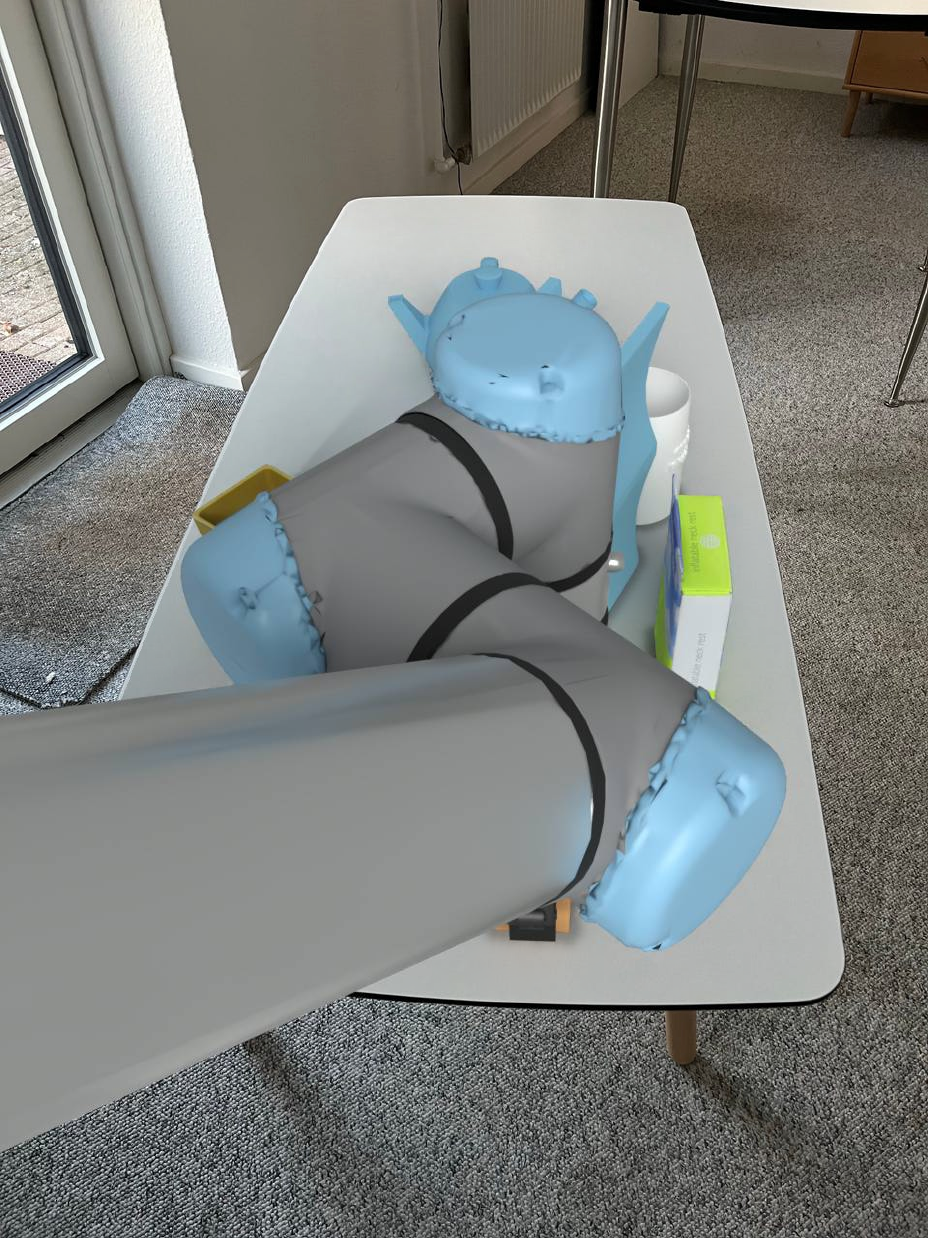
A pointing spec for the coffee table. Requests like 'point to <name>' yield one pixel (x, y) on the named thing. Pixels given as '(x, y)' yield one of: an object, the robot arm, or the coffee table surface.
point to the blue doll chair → (630, 438)
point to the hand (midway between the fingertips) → (534, 835)
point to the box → (694, 590)
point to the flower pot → (238, 497)
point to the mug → (665, 442)
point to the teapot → (464, 302)
